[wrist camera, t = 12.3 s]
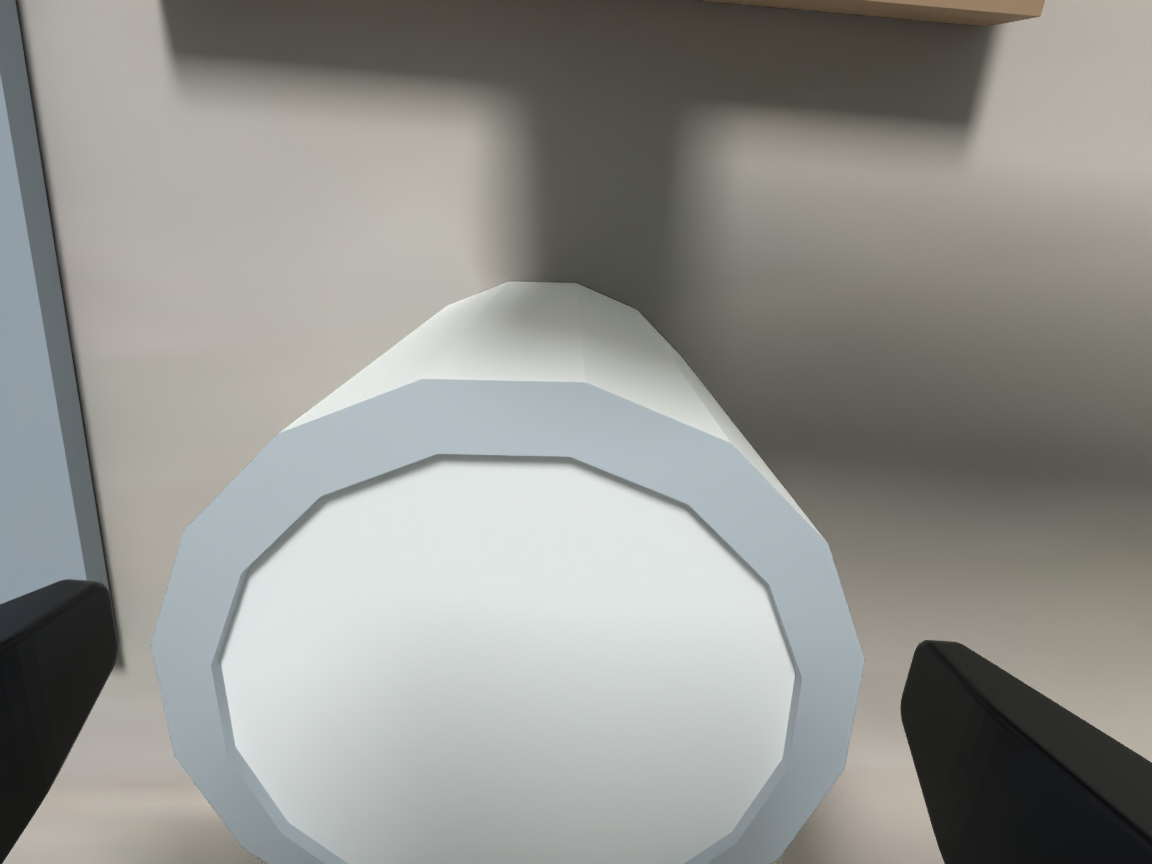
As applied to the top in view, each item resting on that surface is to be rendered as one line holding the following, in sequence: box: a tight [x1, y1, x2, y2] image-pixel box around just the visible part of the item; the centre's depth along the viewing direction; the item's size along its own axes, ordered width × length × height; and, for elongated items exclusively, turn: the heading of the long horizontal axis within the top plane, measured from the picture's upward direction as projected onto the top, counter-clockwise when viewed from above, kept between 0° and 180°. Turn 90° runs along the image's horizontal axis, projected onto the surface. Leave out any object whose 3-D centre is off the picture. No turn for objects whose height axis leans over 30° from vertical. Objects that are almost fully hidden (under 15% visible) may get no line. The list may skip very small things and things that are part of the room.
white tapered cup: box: [151, 281, 865, 864], centre depth 11 cm, size 7×7×7 cm
